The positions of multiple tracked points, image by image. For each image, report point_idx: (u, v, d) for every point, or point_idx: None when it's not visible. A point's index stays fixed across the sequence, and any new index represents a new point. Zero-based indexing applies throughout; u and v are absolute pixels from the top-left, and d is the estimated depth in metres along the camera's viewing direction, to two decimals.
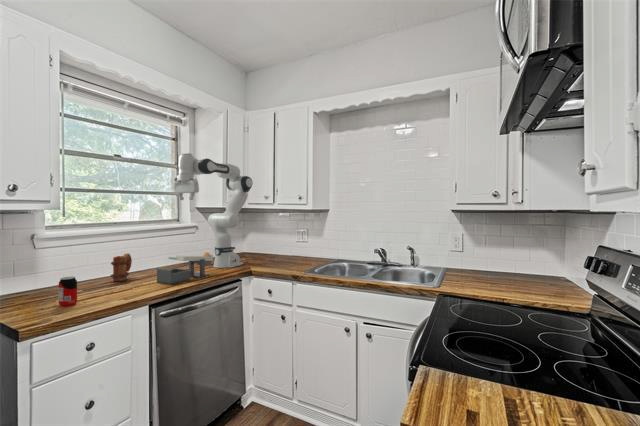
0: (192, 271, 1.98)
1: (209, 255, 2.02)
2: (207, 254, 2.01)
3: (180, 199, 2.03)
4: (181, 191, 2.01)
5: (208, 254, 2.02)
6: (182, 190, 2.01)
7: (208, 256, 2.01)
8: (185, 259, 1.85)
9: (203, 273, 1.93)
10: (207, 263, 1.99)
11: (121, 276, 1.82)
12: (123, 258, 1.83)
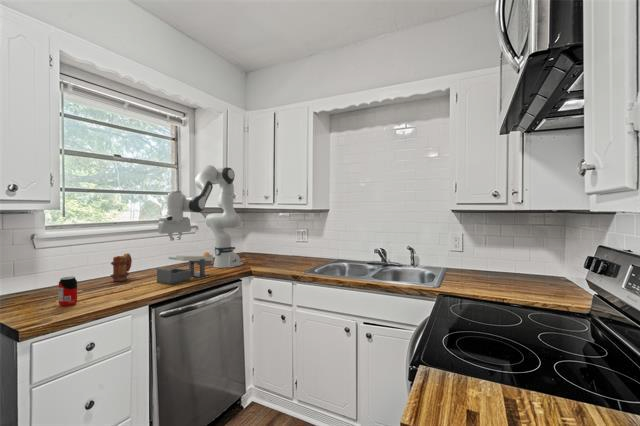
0: (192, 271, 1.98)
1: (209, 255, 2.02)
2: (207, 254, 2.01)
3: (172, 239, 1.89)
4: (173, 231, 1.88)
5: (208, 254, 2.02)
6: (175, 230, 1.89)
7: (208, 256, 2.01)
8: (185, 259, 1.85)
9: (203, 273, 1.93)
10: (207, 263, 1.99)
11: (121, 276, 1.82)
12: (123, 258, 1.83)
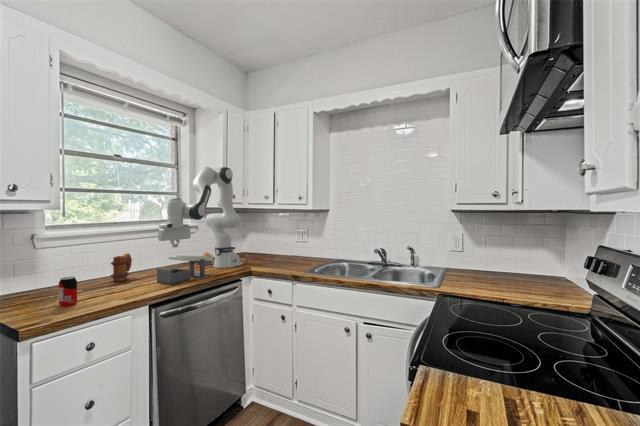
0: (192, 271, 1.98)
1: (209, 255, 2.02)
2: (207, 254, 2.01)
3: (174, 246, 1.90)
4: (173, 238, 1.88)
5: (208, 254, 2.02)
6: (174, 237, 1.89)
7: (208, 256, 2.01)
8: (185, 259, 1.85)
9: (203, 273, 1.93)
10: (207, 263, 1.99)
11: (121, 276, 1.82)
12: (123, 258, 1.83)
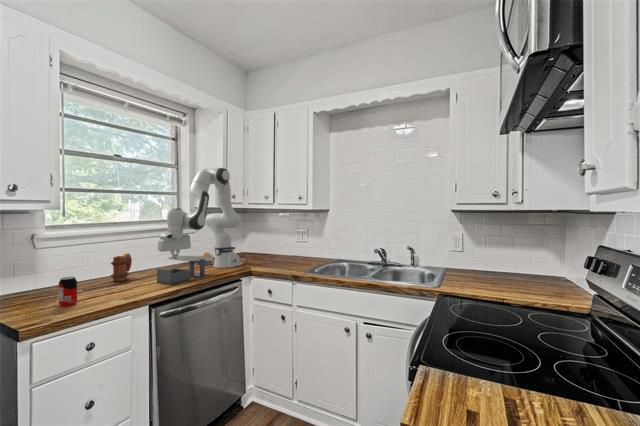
0: (192, 271, 1.98)
1: (209, 255, 2.02)
2: (207, 254, 2.01)
3: (174, 257, 1.90)
4: (173, 249, 1.88)
5: (208, 254, 2.01)
6: (175, 247, 1.89)
7: (208, 256, 2.01)
8: (185, 259, 1.85)
9: (203, 273, 1.93)
10: (207, 263, 1.99)
11: (121, 276, 1.82)
12: (123, 258, 1.83)
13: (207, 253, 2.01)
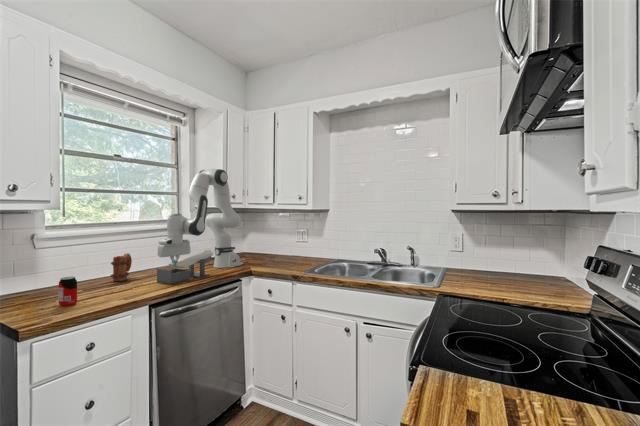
0: (192, 271, 1.98)
1: None
2: None
3: (174, 262, 1.90)
4: (172, 254, 1.88)
5: None
6: (174, 253, 1.89)
7: None
8: (185, 266, 1.85)
9: (203, 273, 1.93)
10: (208, 259, 2.00)
11: (121, 276, 1.82)
12: (123, 258, 1.83)
13: None
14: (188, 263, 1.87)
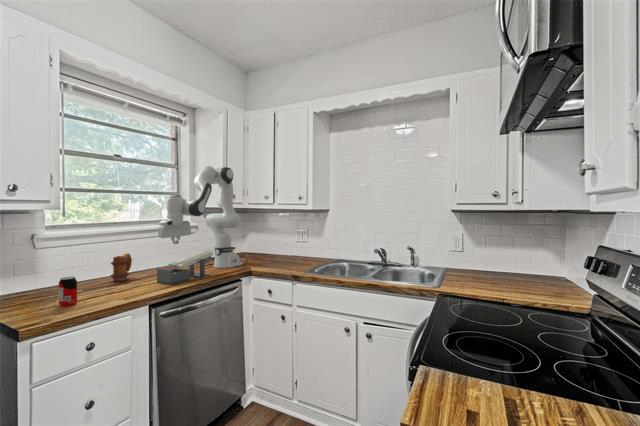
0: (192, 271, 1.98)
1: None
2: None
3: (175, 243, 1.90)
4: (173, 235, 1.88)
5: None
6: (175, 234, 1.89)
7: None
8: (185, 266, 1.85)
9: (203, 273, 1.93)
10: (208, 259, 2.00)
11: (121, 276, 1.82)
12: (123, 258, 1.83)
13: None
14: (188, 263, 1.87)
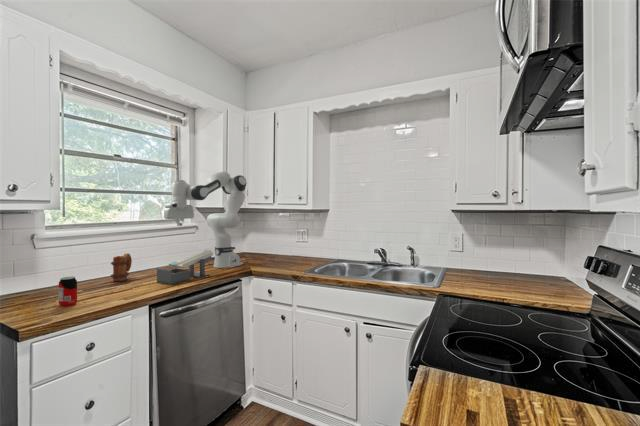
0: (192, 271, 1.98)
1: None
2: None
3: (179, 225, 2.05)
4: (178, 217, 2.03)
5: None
6: (179, 216, 2.04)
7: None
8: (185, 266, 1.85)
9: (203, 273, 1.93)
10: (208, 259, 2.00)
11: (121, 276, 1.82)
12: (123, 258, 1.83)
13: None
14: (188, 263, 1.87)
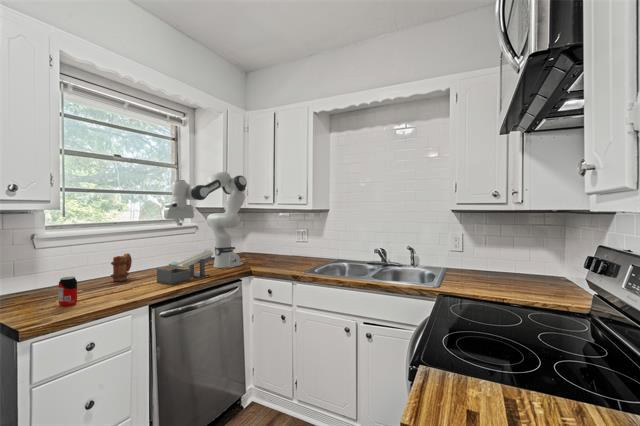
0: (192, 271, 1.98)
1: None
2: None
3: (179, 225, 2.06)
4: (178, 217, 2.04)
5: None
6: (179, 216, 2.04)
7: None
8: (185, 266, 1.85)
9: (203, 273, 1.93)
10: (208, 259, 2.00)
11: (121, 276, 1.82)
12: (123, 258, 1.83)
13: None
14: (188, 263, 1.87)
